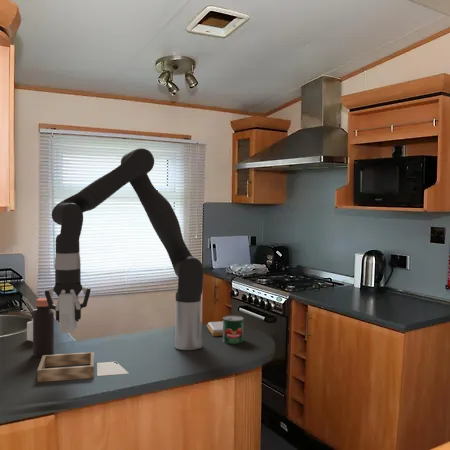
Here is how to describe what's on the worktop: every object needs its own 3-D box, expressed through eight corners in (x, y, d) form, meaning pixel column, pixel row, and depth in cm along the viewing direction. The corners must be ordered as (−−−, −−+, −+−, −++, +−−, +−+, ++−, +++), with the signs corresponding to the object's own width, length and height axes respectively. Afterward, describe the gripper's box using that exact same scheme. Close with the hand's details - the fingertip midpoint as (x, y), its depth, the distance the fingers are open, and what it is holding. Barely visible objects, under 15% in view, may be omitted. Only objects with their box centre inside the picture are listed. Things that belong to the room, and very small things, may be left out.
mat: (133, 362, 156) (133, 360, 156) (136, 374, 144) (136, 372, 144) (97, 364, 153) (97, 362, 153) (97, 377, 141) (97, 375, 141)
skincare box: (64, 328, 147) (63, 290, 146) (77, 327, 147) (77, 290, 147) (58, 333, 141) (58, 294, 140) (73, 333, 141) (73, 294, 141)
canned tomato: (236, 342, 181) (236, 314, 181) (247, 347, 175) (247, 318, 174) (218, 345, 177) (219, 316, 177) (229, 350, 170) (229, 321, 170)
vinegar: (54, 352, 164) (55, 296, 164) (52, 358, 158) (52, 300, 157) (34, 353, 163) (34, 297, 162) (31, 359, 156) (31, 301, 155)
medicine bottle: (54, 339, 181) (54, 308, 180) (38, 343, 175) (38, 312, 174) (42, 336, 184) (42, 306, 184) (26, 340, 178) (26, 309, 178)
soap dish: (206, 333, 193) (206, 321, 193) (228, 332, 196) (228, 320, 196) (212, 342, 181) (212, 329, 181) (236, 340, 184) (236, 328, 183)
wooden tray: (93, 363, 153) (94, 352, 153) (93, 379, 140) (93, 366, 140) (42, 367, 149) (42, 355, 149) (37, 383, 136) (37, 370, 135)
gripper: (91, 264, 149) (92, 317, 149) (44, 266, 145) (45, 320, 145) (91, 268, 141) (92, 323, 142) (41, 269, 137) (42, 326, 138)
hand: (68, 321), depth 144 cm, fingers closed on skincare box, 4 cm apart
